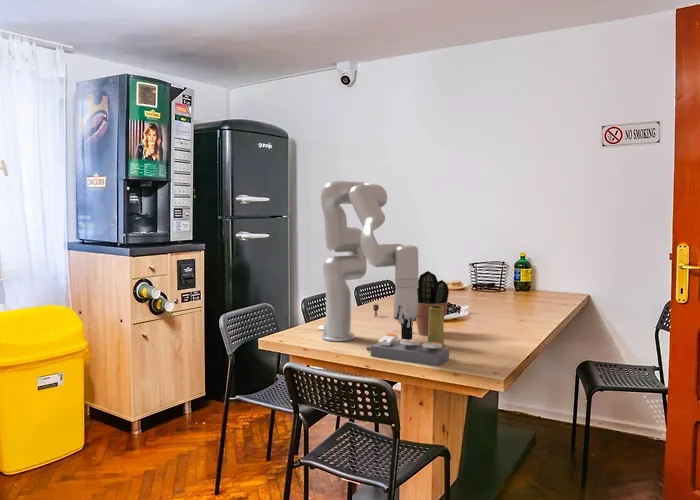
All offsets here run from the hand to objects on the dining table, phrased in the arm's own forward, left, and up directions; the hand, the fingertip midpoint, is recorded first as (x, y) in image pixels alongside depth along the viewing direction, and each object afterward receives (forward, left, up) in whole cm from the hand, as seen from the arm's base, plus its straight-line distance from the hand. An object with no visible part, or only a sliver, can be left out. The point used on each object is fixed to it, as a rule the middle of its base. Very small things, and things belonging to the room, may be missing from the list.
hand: (406, 338), depth 177 cm
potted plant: (-7, +39, -7) cm, 40 cm away
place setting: (-32, +63, -8) cm, 71 cm away
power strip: (-2, +3, -7) cm, 8 cm away
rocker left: (-8, +3, -2) cm, 9 cm away
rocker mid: (0, +3, -2) cm, 3 cm away
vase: (+2, +22, -7) cm, 23 cm away
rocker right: (+8, +3, -2) cm, 8 cm away
